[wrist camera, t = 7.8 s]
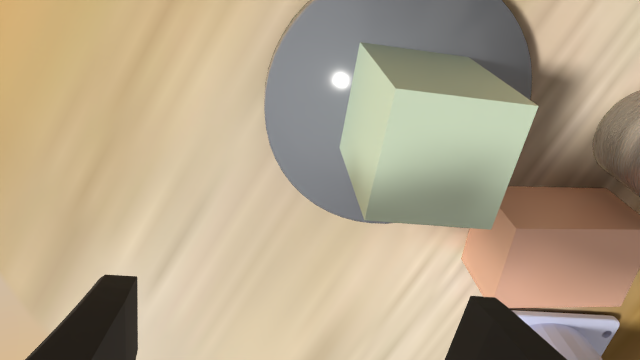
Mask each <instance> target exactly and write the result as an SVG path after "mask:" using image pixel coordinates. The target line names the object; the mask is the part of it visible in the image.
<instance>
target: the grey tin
mask: <svg viewBox="0 0 640 360" xmlns="http://www.w3.org/2000/svg"><path fill="white" fill-rule="evenodd" d="M593 155H594V157H595V160H596V162H597V163H598V164H599V166H600V167H602V168H603V169H604V170H605V171H607V172H608V173H609V174H611V175H612V176H613V177H615V178H616V179H617V180H619V181H620V182H621V183H623V184H624V185H625V186H627V187H628V188H629V189H631V190H632V191H633V192H635V193H636V194H637V195H639V196H640V91H637V92H635V93H632V94H630V95H628V96H627V97H625V98H623V99H622V100H620V101H619V102H618V103H616V104H615V105H614V106H613V107H612V108H611V109H610V110H609V111H608V112H607V113H606V115H605V116H604V117H603V119H602V120H601V122H600V123H599V125H598V127H597V129H596V132H595V135H594V139H593Z"/></svg>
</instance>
